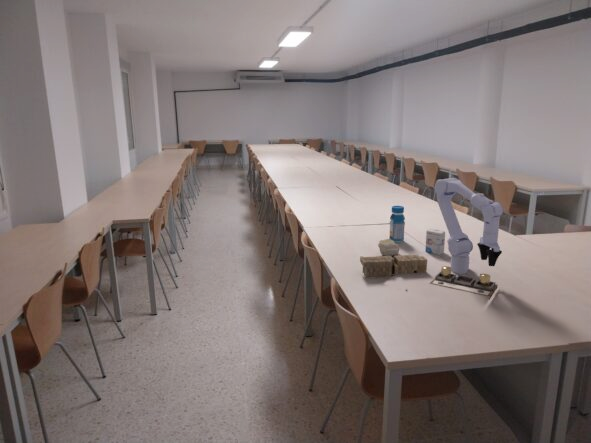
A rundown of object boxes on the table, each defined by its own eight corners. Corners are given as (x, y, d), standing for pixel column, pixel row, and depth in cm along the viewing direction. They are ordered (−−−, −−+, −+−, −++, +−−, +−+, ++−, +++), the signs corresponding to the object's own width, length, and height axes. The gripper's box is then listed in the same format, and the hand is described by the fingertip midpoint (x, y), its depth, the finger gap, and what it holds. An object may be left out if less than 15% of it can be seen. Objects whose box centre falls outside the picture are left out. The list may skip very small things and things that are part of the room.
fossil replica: (403, 254, 222) (385, 252, 228) (403, 238, 221) (385, 237, 227) (394, 258, 212) (375, 256, 218) (393, 242, 211) (375, 241, 217)
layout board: (439, 275, 191) (440, 270, 190) (497, 287, 177) (497, 281, 177) (429, 286, 180) (429, 280, 179) (489, 299, 166) (490, 293, 166)
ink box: (424, 251, 224) (425, 230, 222) (429, 249, 228) (430, 228, 225) (440, 255, 219) (441, 232, 216) (444, 252, 222) (445, 230, 219)
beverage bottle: (398, 243, 239) (399, 209, 234) (386, 240, 245) (387, 206, 240) (407, 240, 244) (408, 206, 239) (394, 237, 251) (396, 204, 246)
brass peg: (478, 284, 178) (479, 273, 177) (488, 285, 177) (490, 274, 175) (479, 288, 174) (480, 276, 173) (489, 289, 173) (490, 277, 172)
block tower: (419, 271, 200) (358, 272, 198) (421, 254, 198) (359, 255, 196) (426, 277, 192) (362, 278, 190) (427, 259, 190) (363, 260, 188)
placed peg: (440, 276, 187) (441, 265, 186) (450, 277, 186) (451, 266, 184) (440, 279, 183) (441, 268, 182) (450, 280, 182) (451, 269, 181)
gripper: (474, 227, 183) (471, 257, 186) (488, 236, 169) (485, 268, 172) (490, 227, 183) (487, 257, 186) (506, 236, 169) (502, 268, 172)
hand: (487, 262), depth 179 cm, fingers open, 7 cm apart
